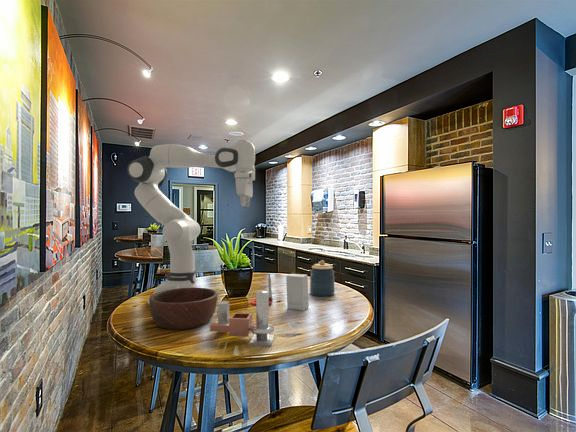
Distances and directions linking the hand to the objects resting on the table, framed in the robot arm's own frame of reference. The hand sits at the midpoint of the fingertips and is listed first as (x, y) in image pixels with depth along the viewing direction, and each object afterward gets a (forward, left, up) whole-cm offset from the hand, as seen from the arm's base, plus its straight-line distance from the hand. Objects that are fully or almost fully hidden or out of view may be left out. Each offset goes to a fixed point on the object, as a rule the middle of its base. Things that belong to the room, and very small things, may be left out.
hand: (245, 206), depth 142 cm
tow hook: (+7, +3, -45) cm, 46 cm away
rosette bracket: (+7, -41, -45) cm, 61 cm away
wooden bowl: (-19, -24, -45) cm, 55 cm away
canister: (+36, +23, -45) cm, 63 cm away
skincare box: (+24, -4, -45) cm, 52 cm away
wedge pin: (-1, -33, -45) cm, 56 cm away
